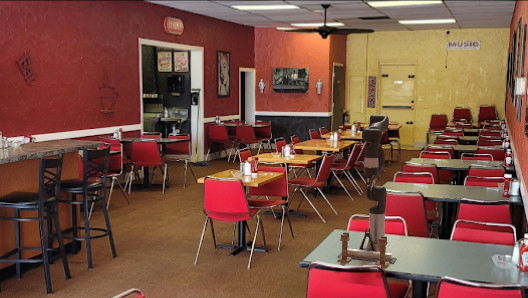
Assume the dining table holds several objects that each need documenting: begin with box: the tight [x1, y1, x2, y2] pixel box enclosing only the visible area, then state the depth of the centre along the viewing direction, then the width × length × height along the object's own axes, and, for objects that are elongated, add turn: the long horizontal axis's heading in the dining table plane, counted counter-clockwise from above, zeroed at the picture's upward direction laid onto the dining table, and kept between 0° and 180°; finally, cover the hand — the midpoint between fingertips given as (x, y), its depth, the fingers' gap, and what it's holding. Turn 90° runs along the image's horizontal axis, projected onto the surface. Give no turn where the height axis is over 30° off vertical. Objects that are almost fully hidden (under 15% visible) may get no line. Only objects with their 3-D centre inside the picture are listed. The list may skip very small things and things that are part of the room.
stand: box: [337, 231, 390, 269], centre depth 297 cm, size 6×26×15 cm, turn 68°
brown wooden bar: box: [347, 248, 393, 260], centre depth 306 cm, size 3×26×3 cm, turn 68°
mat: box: [337, 251, 397, 265], centre depth 306 cm, size 9×30×1 cm, turn 68°
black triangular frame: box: [358, 228, 376, 252], centre depth 320 cm, size 9×6×12 cm, turn 77°
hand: (370, 195), depth 308 cm, fingers open, 8 cm apart
